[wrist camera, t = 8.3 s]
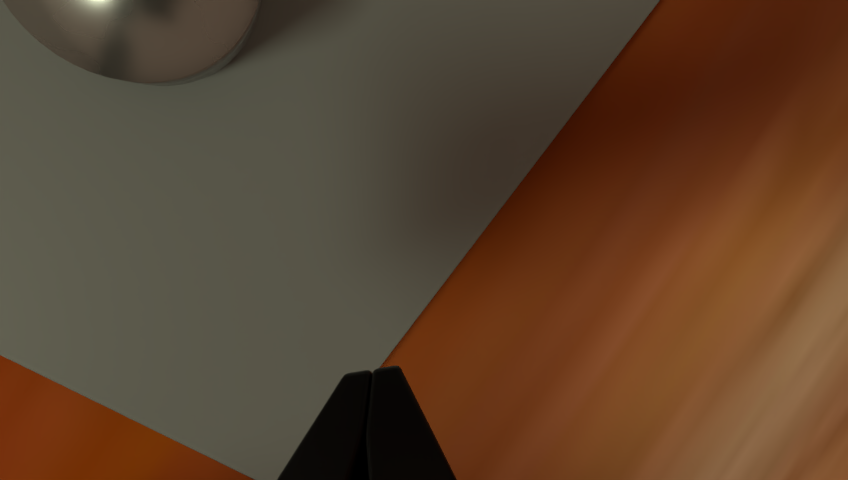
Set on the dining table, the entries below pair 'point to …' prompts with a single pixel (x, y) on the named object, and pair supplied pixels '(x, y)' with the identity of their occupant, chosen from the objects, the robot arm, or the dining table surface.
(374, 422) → the robot arm
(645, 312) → the dining table surface
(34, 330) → the board
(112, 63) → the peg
